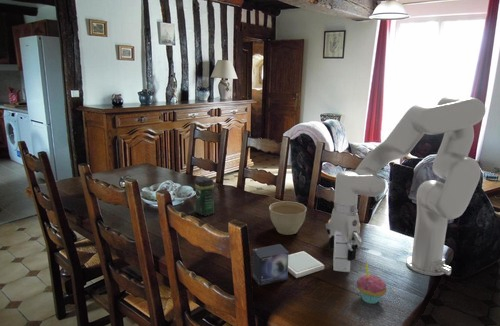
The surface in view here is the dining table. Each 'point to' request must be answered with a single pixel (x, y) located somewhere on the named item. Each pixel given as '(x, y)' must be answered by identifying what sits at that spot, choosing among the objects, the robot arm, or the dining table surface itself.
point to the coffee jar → (204, 195)
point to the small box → (270, 264)
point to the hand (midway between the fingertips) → (341, 253)
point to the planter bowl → (287, 216)
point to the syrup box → (340, 254)
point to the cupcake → (371, 287)
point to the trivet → (303, 264)
